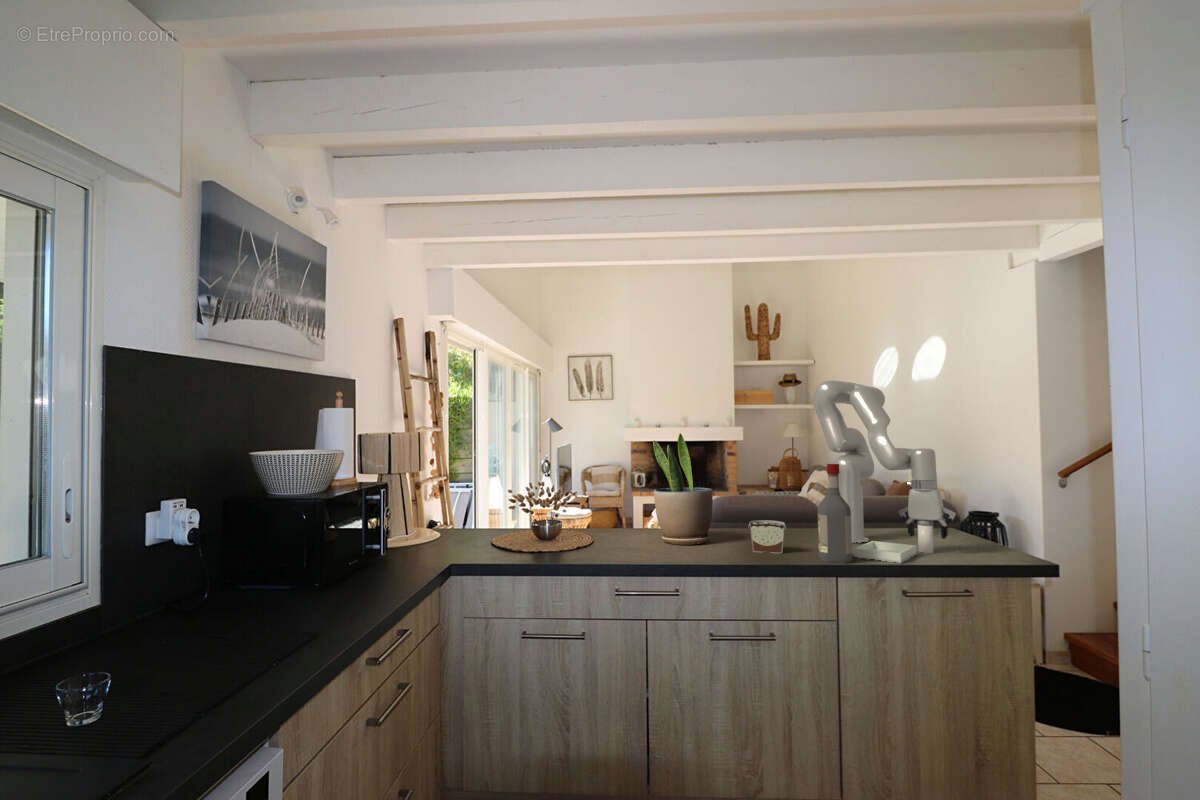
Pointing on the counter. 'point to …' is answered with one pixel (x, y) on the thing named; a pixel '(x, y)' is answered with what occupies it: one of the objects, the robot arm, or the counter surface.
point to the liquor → (834, 522)
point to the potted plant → (681, 500)
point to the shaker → (925, 536)
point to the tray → (885, 551)
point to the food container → (767, 535)
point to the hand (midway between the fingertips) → (927, 537)
